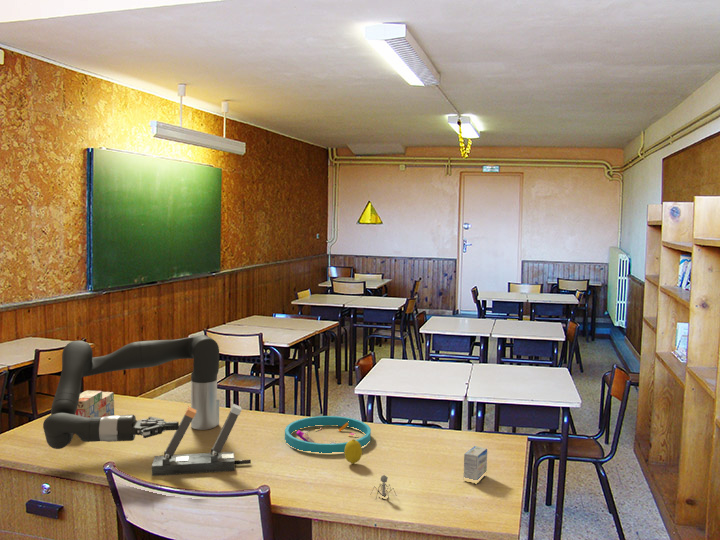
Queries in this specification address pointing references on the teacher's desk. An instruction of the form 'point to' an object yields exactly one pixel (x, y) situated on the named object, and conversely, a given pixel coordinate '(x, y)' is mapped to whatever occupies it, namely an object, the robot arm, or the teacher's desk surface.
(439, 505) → the teacher's desk surface
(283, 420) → the teacher's desk surface
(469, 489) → the teacher's desk surface
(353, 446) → the lemon
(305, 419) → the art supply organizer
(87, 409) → the stack of blocks
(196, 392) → the robot arm
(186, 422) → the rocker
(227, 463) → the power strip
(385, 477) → the bacteriophage
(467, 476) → the medicine box
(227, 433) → the lever
